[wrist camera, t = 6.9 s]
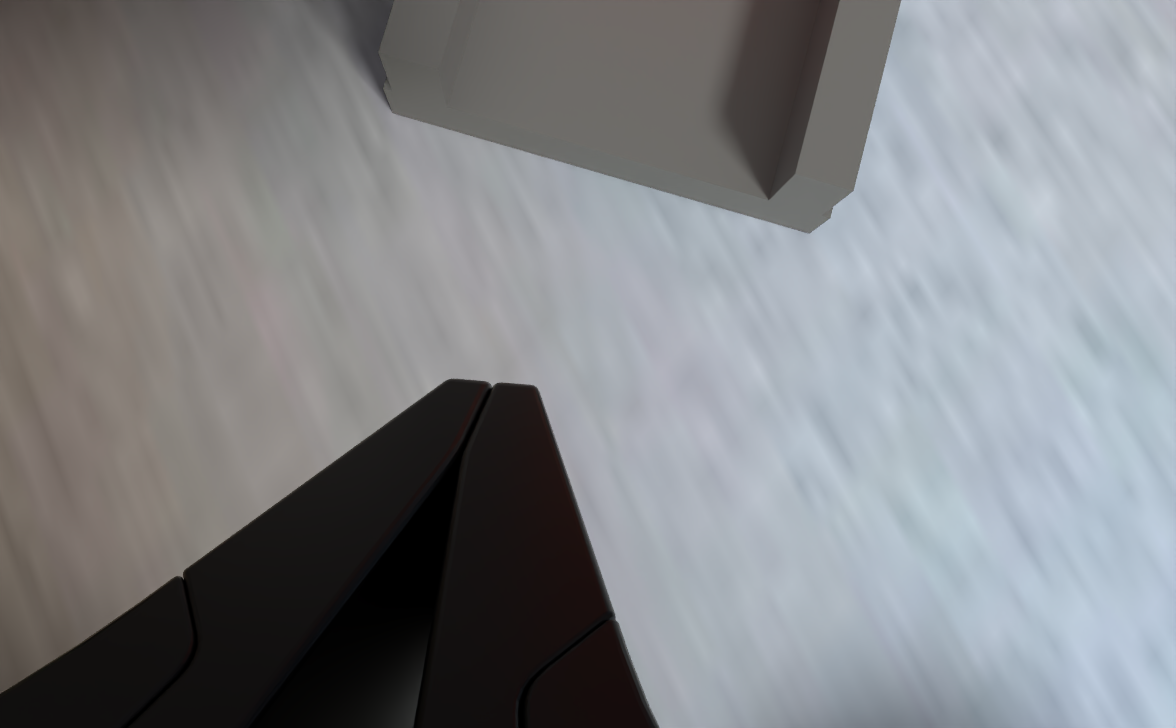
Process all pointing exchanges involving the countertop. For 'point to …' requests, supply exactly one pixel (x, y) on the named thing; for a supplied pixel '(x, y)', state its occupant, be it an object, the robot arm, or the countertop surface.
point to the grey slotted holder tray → (657, 90)
